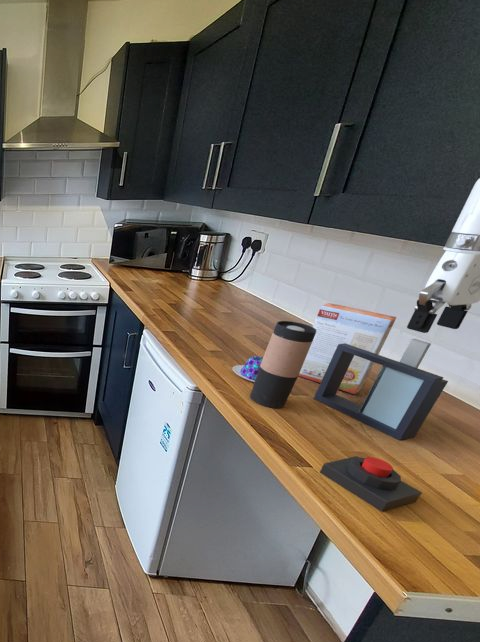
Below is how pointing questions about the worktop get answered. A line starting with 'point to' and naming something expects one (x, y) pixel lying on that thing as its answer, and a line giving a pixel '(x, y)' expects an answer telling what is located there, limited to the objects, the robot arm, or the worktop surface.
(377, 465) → the button
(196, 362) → the worktop surface
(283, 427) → the worktop surface
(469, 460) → the worktop surface
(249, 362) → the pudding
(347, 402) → the window frame
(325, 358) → the cracker box
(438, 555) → the worktop surface
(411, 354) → the sash
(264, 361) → the travel mug
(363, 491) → the control block
